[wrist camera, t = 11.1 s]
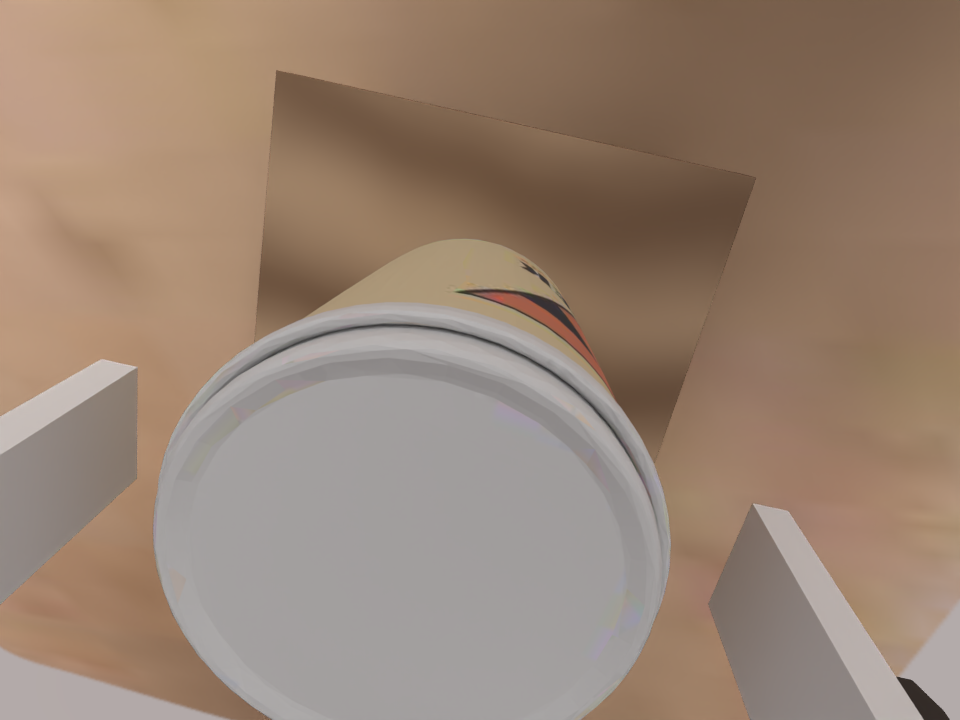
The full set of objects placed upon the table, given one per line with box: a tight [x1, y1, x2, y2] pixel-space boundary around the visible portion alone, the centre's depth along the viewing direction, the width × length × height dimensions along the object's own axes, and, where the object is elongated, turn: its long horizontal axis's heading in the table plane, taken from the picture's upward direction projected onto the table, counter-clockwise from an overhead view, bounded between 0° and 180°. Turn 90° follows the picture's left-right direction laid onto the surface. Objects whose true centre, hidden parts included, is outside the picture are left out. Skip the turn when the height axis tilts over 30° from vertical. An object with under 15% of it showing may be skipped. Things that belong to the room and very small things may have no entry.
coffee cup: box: [153, 239, 671, 720], centre depth 16 cm, size 9×9×12 cm
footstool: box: [254, 70, 756, 463], centre depth 25 cm, size 15×15×6 cm
